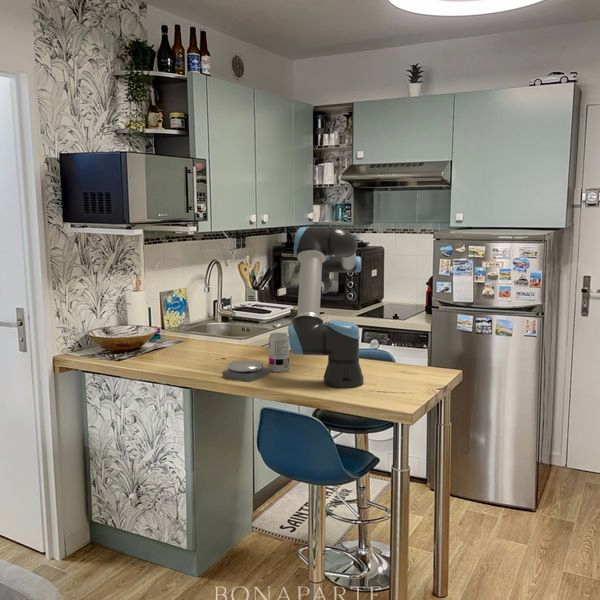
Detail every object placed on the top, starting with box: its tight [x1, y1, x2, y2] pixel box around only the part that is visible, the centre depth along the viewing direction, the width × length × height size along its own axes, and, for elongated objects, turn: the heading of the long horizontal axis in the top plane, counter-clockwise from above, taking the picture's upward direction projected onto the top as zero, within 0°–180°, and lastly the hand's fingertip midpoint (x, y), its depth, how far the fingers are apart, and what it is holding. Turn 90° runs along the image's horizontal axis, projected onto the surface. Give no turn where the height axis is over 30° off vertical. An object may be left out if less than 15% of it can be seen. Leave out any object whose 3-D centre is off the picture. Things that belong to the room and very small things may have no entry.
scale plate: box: [227, 359, 265, 373], centre depth 252 cm, size 14×14×4 cm
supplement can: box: [268, 332, 290, 373], centre depth 260 cm, size 8×8×15 cm
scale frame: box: [222, 366, 270, 383], centre depth 252 cm, size 13×13×3 cm
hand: (292, 293), depth 270 cm, fingers open, 13 cm apart
